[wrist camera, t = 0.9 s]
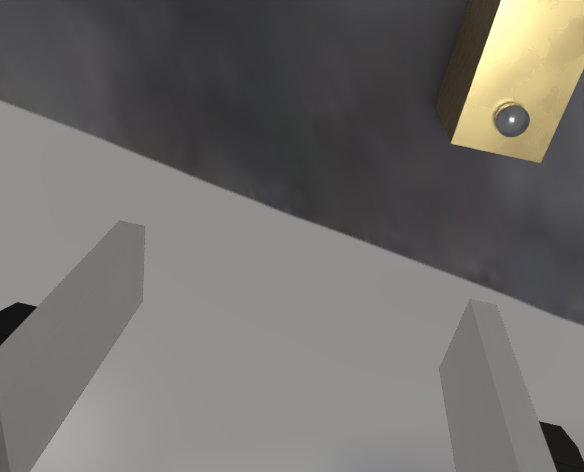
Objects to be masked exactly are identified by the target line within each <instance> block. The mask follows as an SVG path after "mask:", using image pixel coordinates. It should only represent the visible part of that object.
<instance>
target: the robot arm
mask: <svg viewBox="0 0 584 472" xmlns="http://www.w3.org/2000/svg"><path fill="white" fill-rule="evenodd" d="M144 244H145V226H142V225H137V224H133V223H128V222H124V221H119V222H118V223H117V224H116V225H115V226H114V227H113V228H112V229H111V230H110V231H109V232H108V233H107V234H106V235H105V236H104V237H103V238H102V240H101V241H100V242H99V243H98V244H97V245H96V246H95V247H94V248H93V249H92V250H91V251H90V252H89V253H88V254H87V255H86V256H85V258H84V259H83V260H82V261H81V262H80V263H79V264H78V265H77V266H76V267H75V268H74V269H73V270H72V271H71V272H70V273H69V274H68V275H67V276H66V277H65V279H63V281H62V282H61V283H60V284H59V285H58V286H57V287H56V288H55V289H54V290H53V291H52V292H51V293H50V294H49V295H48V296H47V297H46V298H45V299H44V301H43V302H42V303H41V304H40V305H39V306H38V307H36V306H32V305H27V304H23V303H18V302H17V303H15V304H13V305H11V306H9V307H7V308H5V309H3V310H1V311H0V472H30V471H31V469H32V468H33V466H34V465H35V463H36V461H37V460H38V458H39V457H40V455H41V454H42V453H43V451H44V449H45V448H46V446H47V445H48V443H49V442H50V440H51V439H52V437H53V436H54V434H55V433H56V431H57V430H58V428H59V427H60V425H61V424H62V422H63V421H64V419H65V418H66V416H67V415H68V413H69V412H70V410H71V409H72V407H73V406H74V404H75V403H76V401H77V400H78V398H79V397H80V395H81V394H82V392H83V391H84V389H85V387H86V386H87V385H88V383H89V381H90V380H91V378H92V377H93V375H94V374H95V372H96V371H97V369H98V368H99V366H100V365H101V363H102V361H103V360H104V359H105V357H106V356H107V354H108V353H109V351H110V350H111V348H112V347H113V345H114V344H115V342H116V341H117V339H118V338H119V336H120V335H121V333H122V332H123V330H124V329H125V327H126V326H127V324H128V322H129V321H130V320H131V318H132V316H133V315H134V313H135V312H136V310H137V309H138V307H139V306H140V304H141V303H142V301H143V275H144ZM439 371H440V377H441V384H442V389H443V396H444V402H445V408H446V414H447V420H448V426H449V432H450V438H451V444H452V450H453V456H454V462H455V469H456V472H584V461H583V459H582V457H581V454H580V452H579V449H578V447H577V446H576V445H575V443H574V442H573V441H572V440H571V438H570V437H569V436H568V435H567V433H566V432H565V431H564V430H563V429H562V427H561V426H557V425H553V424H548V423H544V422H540V421H538V418H537V415H536V412H535V410H534V407H533V404H532V401H531V399H530V396H529V393H528V390H527V388H526V385H525V382H524V379H523V376H522V374H521V371H520V368H519V365H518V363H517V360H516V357H515V354H514V352H513V349H512V346H511V343H510V341H509V338H508V335H507V332H506V329H505V327H504V324H503V321H502V318H501V316H500V313H499V310H498V307H497V305H494V304H489V303H485V302H480V301H476V300H472V299H470V300H469V303H468V305H467V307H466V309H465V311H464V314H463V316H462V318H461V320H460V323H459V325H458V327H457V329H456V332H455V334H454V337H453V339H452V341H451V343H450V345H449V348H448V350H447V352H446V355H445V357H444V359H443V361H442V364H441V366H440V368H439Z"/></svg>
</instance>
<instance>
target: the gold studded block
mask: <svg viewBox="0 0 584 472" xmlns="http://www.w3.org/2000/svg"><path fill="white" fill-rule="evenodd" d="M583 69H584V0H469V2H468V6H467V9H466V12H465V15H464V18H463V21H462V24H461V27H460V30H459V33H458V37H457V40H456V43H455V46H454V49H453V52H452V55H451V58H450V61H449V65H448V68H447V71H446V74H445V77H444V80H443V83H442V86H441V89H440V92H439V96H438V99H437V102H436V105H435V108H436V110H437V112H438V115H439V117H440V119H441V122H442V124H443V126H444V129H445V131H446V133H447V136H448V138H449V140H450V143H451V144H455V145H460V146H465V147H469V148H474V149H478V150H483V151H488V152H492V153H497V154H502V155H506V156H511V157H516V158H520V159H525V160H530V161H534V162H539V163H541V161H542V159H543V156H544V154H545V152H546V150H547V148H548V145H549V143H550V141H551V139H552V137H553V134H554V132H555V130H556V128H557V126H558V123H559V121H560V119H561V117H562V115H563V112H564V110H565V108H566V106H567V104H568V101H569V99H570V97H571V95H572V93H573V91H574V88H575V86H576V84H577V82H578V80H579V77H580V75H581V73H582V71H583Z"/></svg>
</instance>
